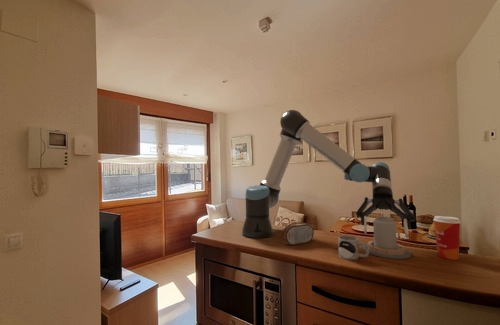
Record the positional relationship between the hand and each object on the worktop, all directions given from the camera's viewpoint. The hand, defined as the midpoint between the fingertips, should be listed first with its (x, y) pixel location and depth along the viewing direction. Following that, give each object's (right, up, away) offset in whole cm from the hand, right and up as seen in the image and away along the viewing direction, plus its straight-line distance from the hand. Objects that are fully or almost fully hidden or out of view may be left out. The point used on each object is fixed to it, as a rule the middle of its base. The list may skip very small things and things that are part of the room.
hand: (385, 233), depth 87 cm
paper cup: (+20, -7, -4) cm, 22 cm away
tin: (-30, -8, +12) cm, 33 cm away
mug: (-14, -7, -5) cm, 17 cm away
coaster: (+1, -7, +2) cm, 8 cm away
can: (+1, -7, +2) cm, 7 cm away
